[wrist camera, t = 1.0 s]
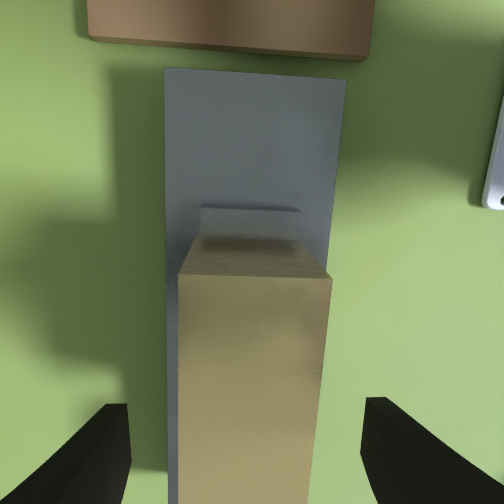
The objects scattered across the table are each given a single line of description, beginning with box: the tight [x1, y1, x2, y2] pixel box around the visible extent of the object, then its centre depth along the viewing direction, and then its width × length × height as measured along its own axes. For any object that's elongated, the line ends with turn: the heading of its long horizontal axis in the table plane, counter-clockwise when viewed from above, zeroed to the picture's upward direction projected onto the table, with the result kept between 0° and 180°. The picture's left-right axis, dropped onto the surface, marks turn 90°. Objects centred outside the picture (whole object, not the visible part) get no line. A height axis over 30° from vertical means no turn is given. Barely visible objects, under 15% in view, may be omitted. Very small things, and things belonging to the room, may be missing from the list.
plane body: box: [164, 67, 347, 504], centre depth 16 cm, size 7×22×7 cm, turn 177°
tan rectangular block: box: [178, 238, 333, 504], centre depth 14 cm, size 4×9×5 cm, turn 177°
